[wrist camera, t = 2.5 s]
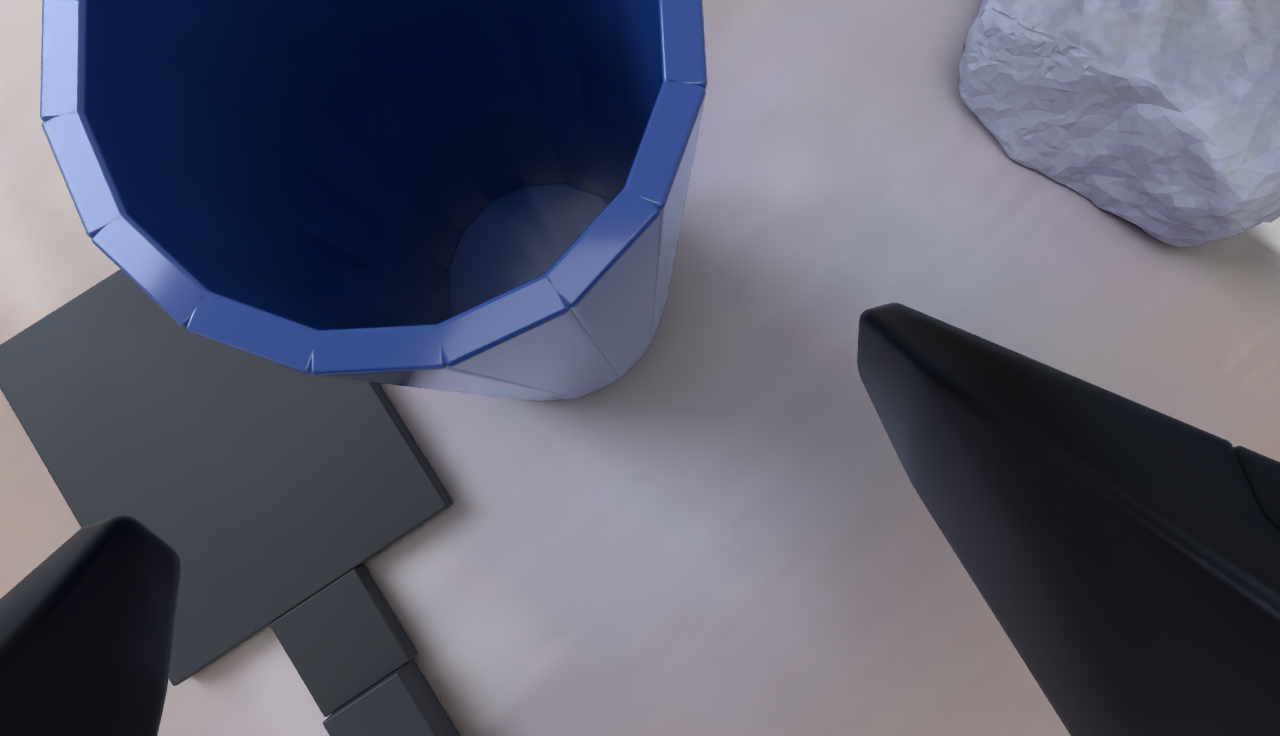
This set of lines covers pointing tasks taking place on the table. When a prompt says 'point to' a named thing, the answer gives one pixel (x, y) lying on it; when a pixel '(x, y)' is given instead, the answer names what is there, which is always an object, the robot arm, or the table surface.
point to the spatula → (238, 492)
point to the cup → (388, 176)
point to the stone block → (1138, 105)
